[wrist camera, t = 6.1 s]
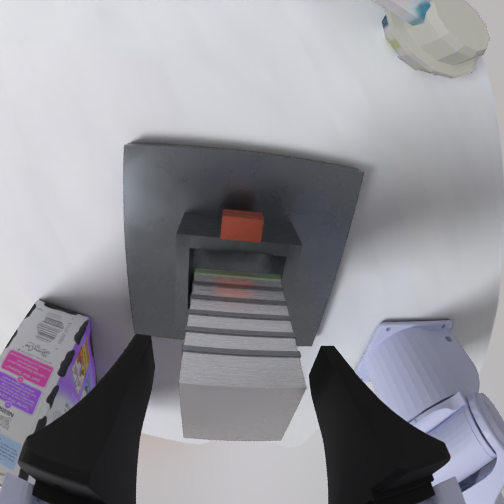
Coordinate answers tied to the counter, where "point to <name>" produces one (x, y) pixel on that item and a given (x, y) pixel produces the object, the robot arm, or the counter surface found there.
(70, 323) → the candy box
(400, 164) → the counter surface
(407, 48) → the grey elongated piece
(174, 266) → the stand
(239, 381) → the column
